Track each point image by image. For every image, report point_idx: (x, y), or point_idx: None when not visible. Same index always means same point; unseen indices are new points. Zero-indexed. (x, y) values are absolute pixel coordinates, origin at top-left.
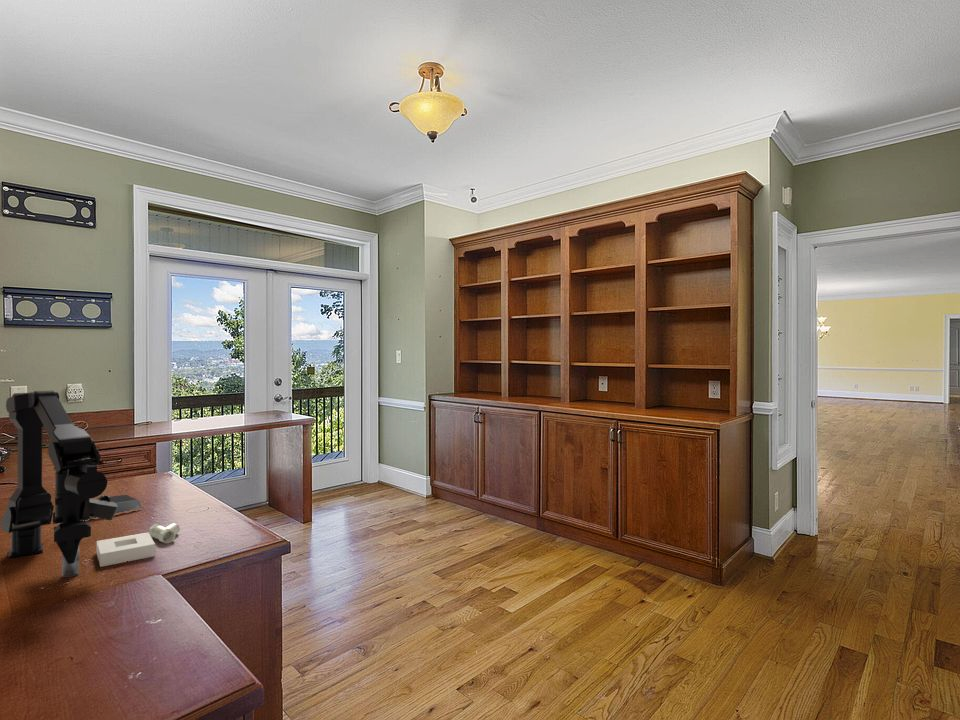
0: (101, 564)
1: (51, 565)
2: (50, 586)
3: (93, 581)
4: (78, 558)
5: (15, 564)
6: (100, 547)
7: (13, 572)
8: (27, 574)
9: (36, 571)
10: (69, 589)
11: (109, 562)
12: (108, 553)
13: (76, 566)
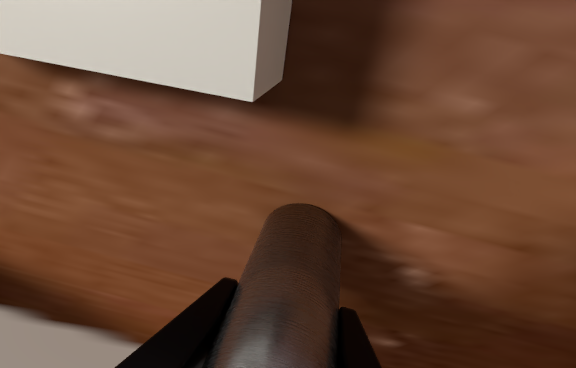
0: (278, 73)
1: (91, 243)
2: (396, 325)
3: (557, 194)
4: (315, 288)
5: (23, 304)
6: (24, 39)
7: (112, 330)
8: (162, 318)
9: (143, 294)
10: (541, 302)
11: (288, 9)
12: (263, 14)
13: (334, 260)
